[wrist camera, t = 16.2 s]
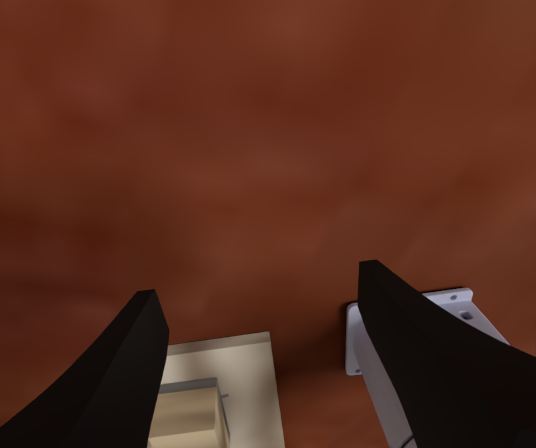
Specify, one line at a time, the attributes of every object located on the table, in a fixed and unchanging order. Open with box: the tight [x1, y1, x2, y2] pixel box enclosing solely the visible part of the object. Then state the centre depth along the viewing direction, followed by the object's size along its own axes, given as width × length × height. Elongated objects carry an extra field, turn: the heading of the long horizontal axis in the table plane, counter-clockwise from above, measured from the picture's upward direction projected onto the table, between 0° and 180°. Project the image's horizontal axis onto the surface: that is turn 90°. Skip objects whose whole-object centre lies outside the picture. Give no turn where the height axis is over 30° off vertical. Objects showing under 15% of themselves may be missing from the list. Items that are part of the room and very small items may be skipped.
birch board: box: [147, 332, 285, 448], centre depth 31 cm, size 14×22×1 cm, turn 6°
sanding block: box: [148, 378, 230, 448], centre depth 27 cm, size 8×4×4 cm, turn 5°
